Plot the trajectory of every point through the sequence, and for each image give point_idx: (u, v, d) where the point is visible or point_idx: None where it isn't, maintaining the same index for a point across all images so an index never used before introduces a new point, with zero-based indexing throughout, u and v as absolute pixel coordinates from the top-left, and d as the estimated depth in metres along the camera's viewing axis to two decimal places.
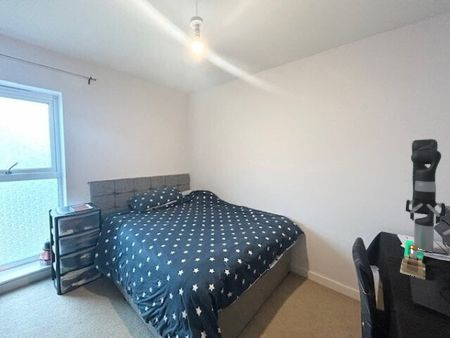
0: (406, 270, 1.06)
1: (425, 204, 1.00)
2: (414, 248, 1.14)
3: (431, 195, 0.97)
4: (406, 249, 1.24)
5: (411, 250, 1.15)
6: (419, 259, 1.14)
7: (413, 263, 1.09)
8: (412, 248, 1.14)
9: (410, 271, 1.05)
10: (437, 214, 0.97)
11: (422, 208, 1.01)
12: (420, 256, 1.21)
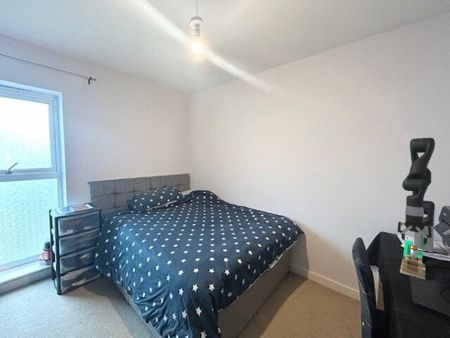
0: (406, 270, 1.06)
1: (414, 226, 1.14)
2: (414, 248, 1.14)
3: (419, 219, 1.11)
4: (405, 249, 1.24)
5: (411, 250, 1.15)
6: (419, 259, 1.14)
7: (413, 263, 1.09)
8: (412, 248, 1.14)
9: (410, 271, 1.05)
10: (424, 236, 1.11)
11: (412, 230, 1.15)
12: (419, 256, 1.21)
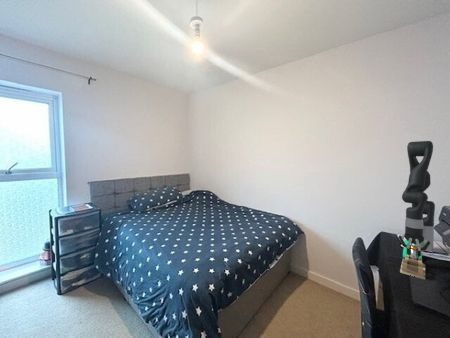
0: (406, 270, 1.06)
1: (414, 238, 1.14)
2: (414, 248, 1.14)
3: (419, 231, 1.11)
4: (405, 249, 1.24)
5: (411, 250, 1.15)
6: (419, 259, 1.14)
7: (413, 263, 1.09)
8: (412, 248, 1.14)
9: (410, 271, 1.05)
10: (418, 249, 1.13)
11: (411, 242, 1.15)
12: (419, 256, 1.21)
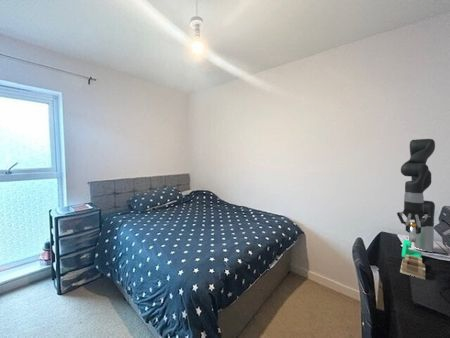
0: (406, 270, 1.06)
1: (414, 214, 1.06)
2: (414, 224, 1.05)
3: (419, 206, 1.03)
4: (404, 248, 1.24)
5: (410, 227, 1.07)
6: (419, 259, 1.14)
7: (413, 263, 1.09)
8: (411, 225, 1.06)
9: (410, 271, 1.05)
10: (418, 225, 1.05)
11: (411, 218, 1.07)
12: (418, 255, 1.21)
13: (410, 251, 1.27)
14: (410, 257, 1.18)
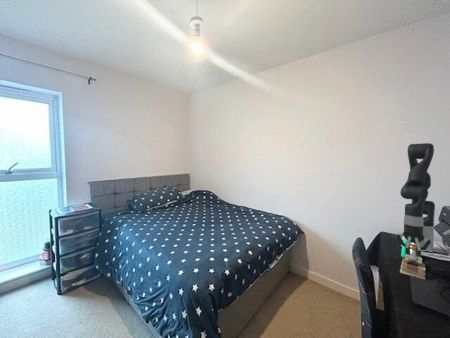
0: (406, 270, 1.06)
1: (413, 237, 1.06)
2: (413, 247, 1.06)
3: (418, 229, 1.03)
4: (403, 248, 1.25)
5: (410, 250, 1.07)
6: (419, 259, 1.14)
7: None
8: (411, 247, 1.06)
9: (410, 271, 1.05)
10: (418, 248, 1.05)
11: (411, 241, 1.07)
12: None
13: None
14: None
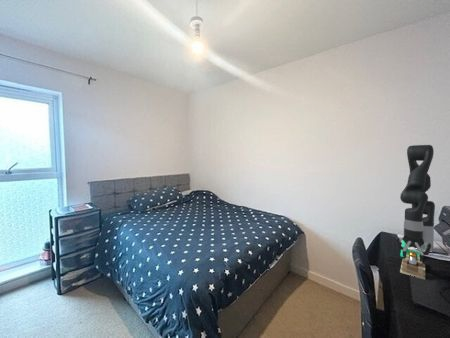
0: (406, 270, 1.06)
1: (413, 242, 1.06)
2: (413, 255, 1.06)
3: (418, 234, 1.03)
4: None
5: (410, 257, 1.07)
6: (419, 259, 1.14)
7: None
8: (411, 255, 1.06)
9: (410, 271, 1.05)
10: (421, 253, 1.04)
11: (410, 245, 1.07)
12: None
13: (409, 251, 1.28)
14: None
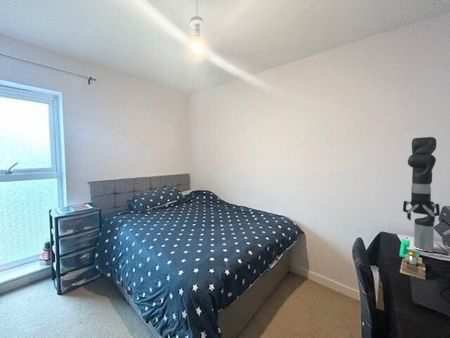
0: (406, 270, 1.06)
1: (421, 205, 1.08)
2: (413, 254, 1.06)
3: (426, 196, 1.05)
4: (402, 248, 1.25)
5: (410, 257, 1.07)
6: (419, 259, 1.14)
7: None
8: (411, 254, 1.07)
9: (410, 271, 1.05)
10: (432, 214, 1.05)
11: (418, 208, 1.08)
12: None
13: None
14: None
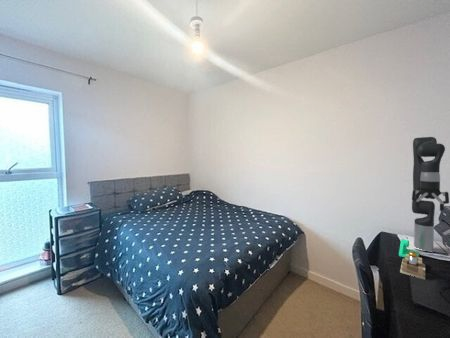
0: (406, 270, 1.06)
1: (430, 193, 1.09)
2: (413, 255, 1.06)
3: (435, 184, 1.07)
4: (401, 248, 1.26)
5: (410, 257, 1.07)
6: (419, 259, 1.14)
7: None
8: (411, 255, 1.07)
9: (410, 271, 1.05)
10: (441, 202, 1.07)
11: (427, 197, 1.10)
12: None
13: (408, 250, 1.28)
14: None
